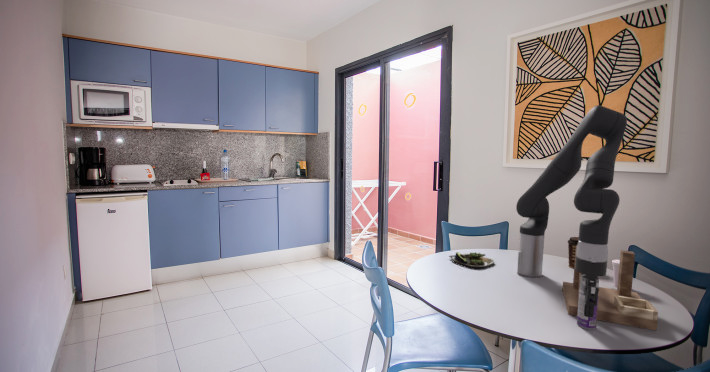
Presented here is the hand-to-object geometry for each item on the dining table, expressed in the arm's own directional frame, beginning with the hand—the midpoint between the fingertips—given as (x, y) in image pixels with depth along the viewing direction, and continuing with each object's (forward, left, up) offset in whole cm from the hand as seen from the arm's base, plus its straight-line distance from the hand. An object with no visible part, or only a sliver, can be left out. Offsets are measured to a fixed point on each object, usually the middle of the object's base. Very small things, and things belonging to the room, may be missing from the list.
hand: (587, 312), depth 103 cm
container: (0, 0, -4) cm, 4 cm away
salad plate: (-39, +45, -5) cm, 60 cm away
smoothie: (+16, +41, -4) cm, 44 cm away
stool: (+7, +17, -4) cm, 19 cm away
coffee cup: (+4, +59, -4) cm, 59 cm away
